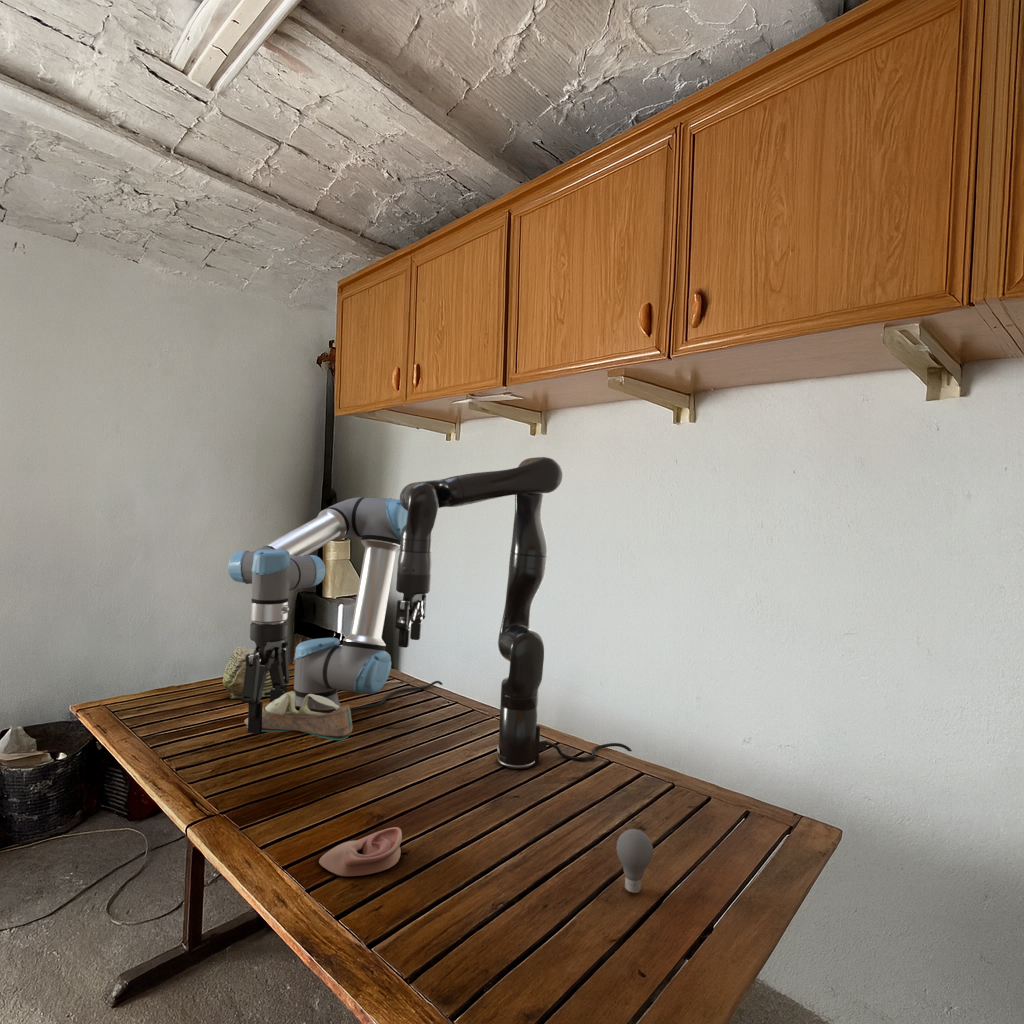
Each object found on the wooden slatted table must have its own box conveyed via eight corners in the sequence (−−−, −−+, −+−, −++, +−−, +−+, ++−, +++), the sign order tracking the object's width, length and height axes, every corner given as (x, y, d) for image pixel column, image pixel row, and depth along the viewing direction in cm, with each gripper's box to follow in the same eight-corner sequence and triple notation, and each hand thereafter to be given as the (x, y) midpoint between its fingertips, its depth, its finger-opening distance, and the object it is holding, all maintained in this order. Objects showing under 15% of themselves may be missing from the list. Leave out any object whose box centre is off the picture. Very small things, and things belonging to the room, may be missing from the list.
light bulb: (610, 879, 108) (613, 822, 108) (644, 879, 109) (647, 822, 109) (619, 902, 102) (622, 840, 102) (655, 901, 103) (658, 840, 103)
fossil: (218, 695, 195) (220, 647, 195) (278, 685, 208) (279, 640, 207) (228, 703, 189) (230, 653, 188) (289, 692, 201) (290, 645, 201)
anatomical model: (310, 847, 107) (342, 815, 118) (309, 871, 107) (341, 836, 118) (384, 860, 104) (409, 825, 116) (383, 884, 104) (408, 847, 116)
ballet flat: (256, 719, 142) (258, 682, 142) (361, 729, 139) (362, 692, 138) (235, 732, 134) (236, 693, 134) (345, 744, 130) (347, 704, 130)
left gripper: (259, 632, 126) (255, 745, 127) (307, 614, 147) (304, 711, 147) (224, 629, 127) (220, 741, 128) (277, 611, 148) (274, 708, 148)
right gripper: (421, 575, 134) (415, 651, 135) (438, 569, 149) (434, 638, 149) (387, 572, 136) (382, 648, 136) (408, 567, 150) (403, 635, 150)
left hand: (265, 725), depth 138 cm, fingers closed on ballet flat, 8 cm apart
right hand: (409, 643), depth 142 cm, fingers open, 8 cm apart
